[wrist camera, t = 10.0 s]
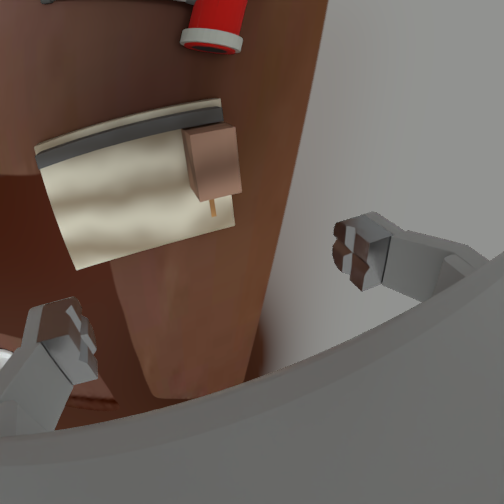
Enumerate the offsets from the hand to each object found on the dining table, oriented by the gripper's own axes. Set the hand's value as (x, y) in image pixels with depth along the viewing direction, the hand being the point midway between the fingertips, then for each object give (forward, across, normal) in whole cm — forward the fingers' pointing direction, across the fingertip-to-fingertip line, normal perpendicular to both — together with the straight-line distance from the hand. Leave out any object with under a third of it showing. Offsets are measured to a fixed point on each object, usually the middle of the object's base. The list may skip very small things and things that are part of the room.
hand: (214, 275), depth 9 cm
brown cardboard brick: (+27, -6, +4) cm, 28 cm away
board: (+29, +2, +6) cm, 30 cm away
